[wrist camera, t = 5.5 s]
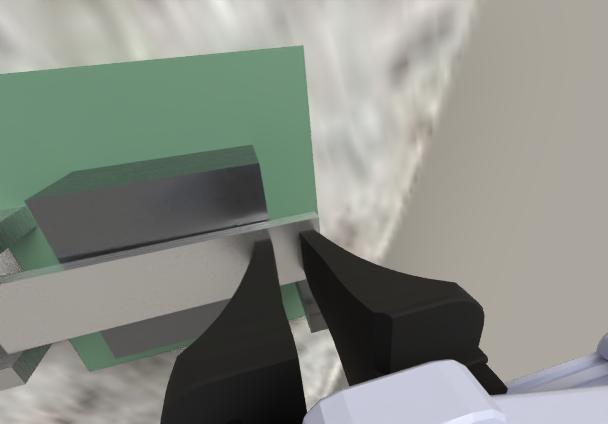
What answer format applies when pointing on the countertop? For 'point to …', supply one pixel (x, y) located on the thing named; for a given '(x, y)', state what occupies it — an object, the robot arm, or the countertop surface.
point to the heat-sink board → (156, 128)
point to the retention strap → (140, 282)
